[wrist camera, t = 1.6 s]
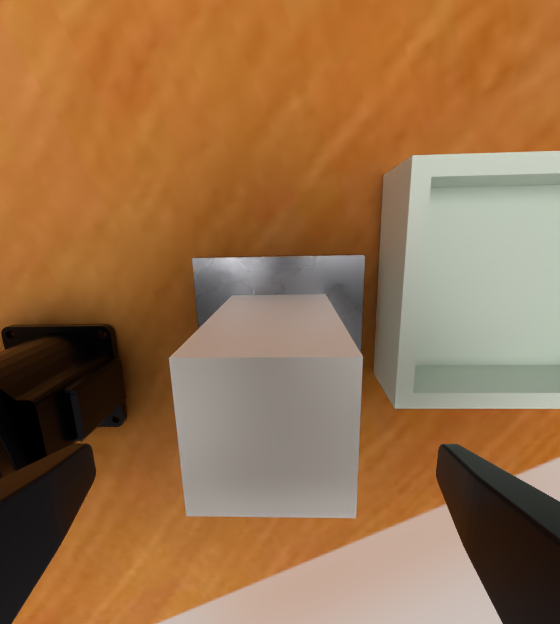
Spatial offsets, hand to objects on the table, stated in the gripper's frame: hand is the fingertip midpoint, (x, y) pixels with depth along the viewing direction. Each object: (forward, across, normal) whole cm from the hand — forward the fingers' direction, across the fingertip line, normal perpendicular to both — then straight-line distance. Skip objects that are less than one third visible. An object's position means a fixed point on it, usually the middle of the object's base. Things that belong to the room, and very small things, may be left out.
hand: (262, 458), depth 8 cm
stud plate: (+11, 0, 0) cm, 11 cm away
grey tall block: (+10, 0, 0) cm, 10 cm away
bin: (+10, -11, -3) cm, 16 cm away
